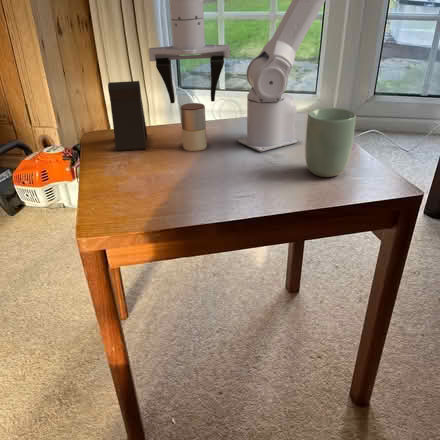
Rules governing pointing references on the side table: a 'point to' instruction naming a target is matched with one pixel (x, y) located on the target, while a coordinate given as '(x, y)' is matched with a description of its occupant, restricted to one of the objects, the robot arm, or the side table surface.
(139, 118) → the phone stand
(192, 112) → the cylinder
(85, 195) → the side table surface
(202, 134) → the pale yellow short cylinder
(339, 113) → the cup
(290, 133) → the robot arm
